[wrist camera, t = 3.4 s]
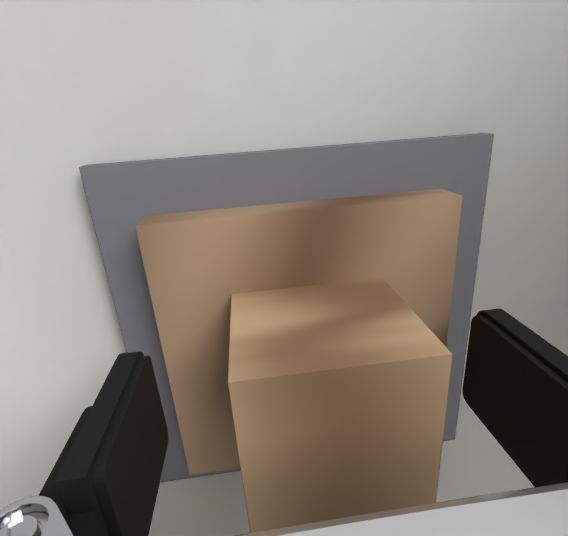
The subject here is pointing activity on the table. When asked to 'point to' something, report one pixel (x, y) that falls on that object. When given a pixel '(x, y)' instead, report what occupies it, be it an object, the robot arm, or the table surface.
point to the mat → (273, 190)
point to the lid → (310, 347)
